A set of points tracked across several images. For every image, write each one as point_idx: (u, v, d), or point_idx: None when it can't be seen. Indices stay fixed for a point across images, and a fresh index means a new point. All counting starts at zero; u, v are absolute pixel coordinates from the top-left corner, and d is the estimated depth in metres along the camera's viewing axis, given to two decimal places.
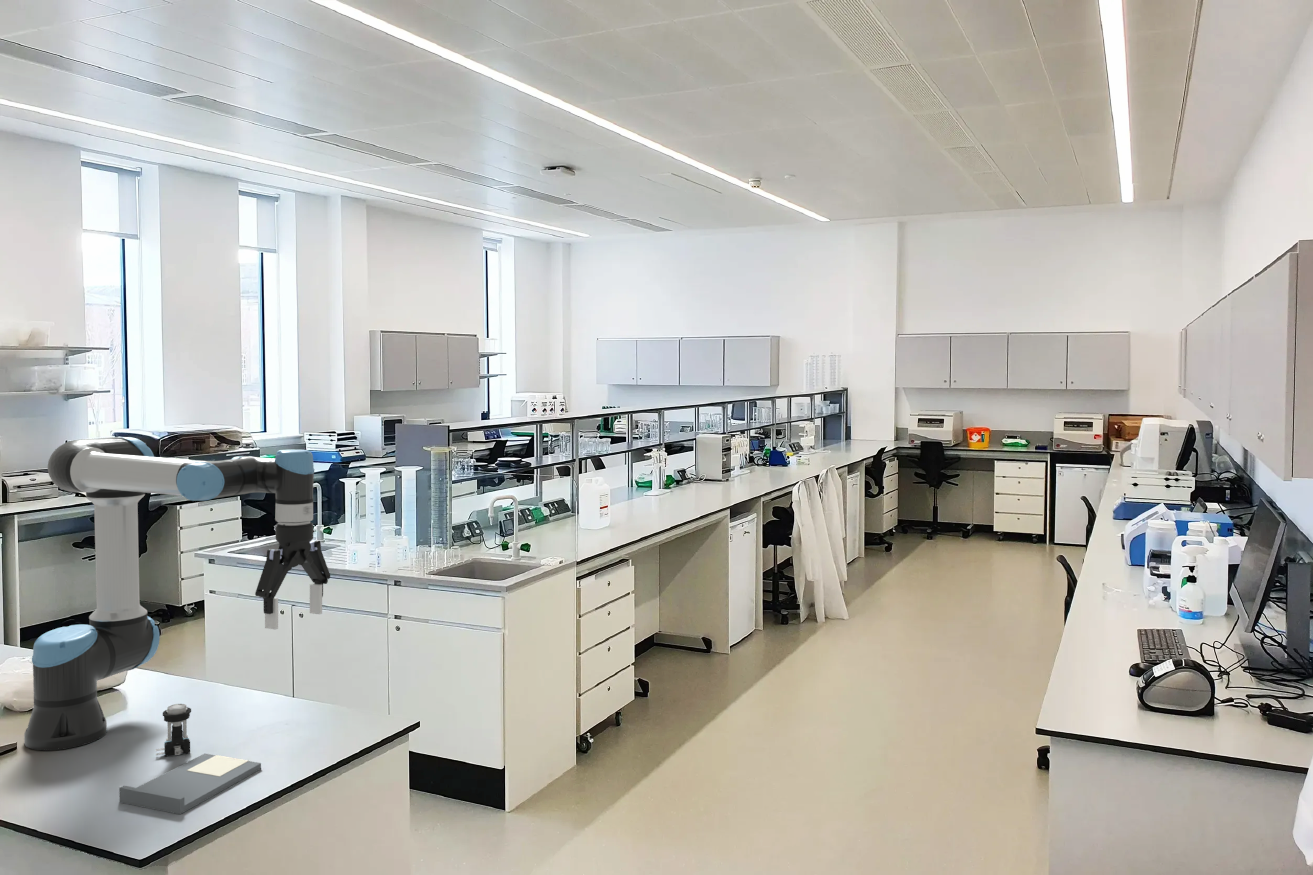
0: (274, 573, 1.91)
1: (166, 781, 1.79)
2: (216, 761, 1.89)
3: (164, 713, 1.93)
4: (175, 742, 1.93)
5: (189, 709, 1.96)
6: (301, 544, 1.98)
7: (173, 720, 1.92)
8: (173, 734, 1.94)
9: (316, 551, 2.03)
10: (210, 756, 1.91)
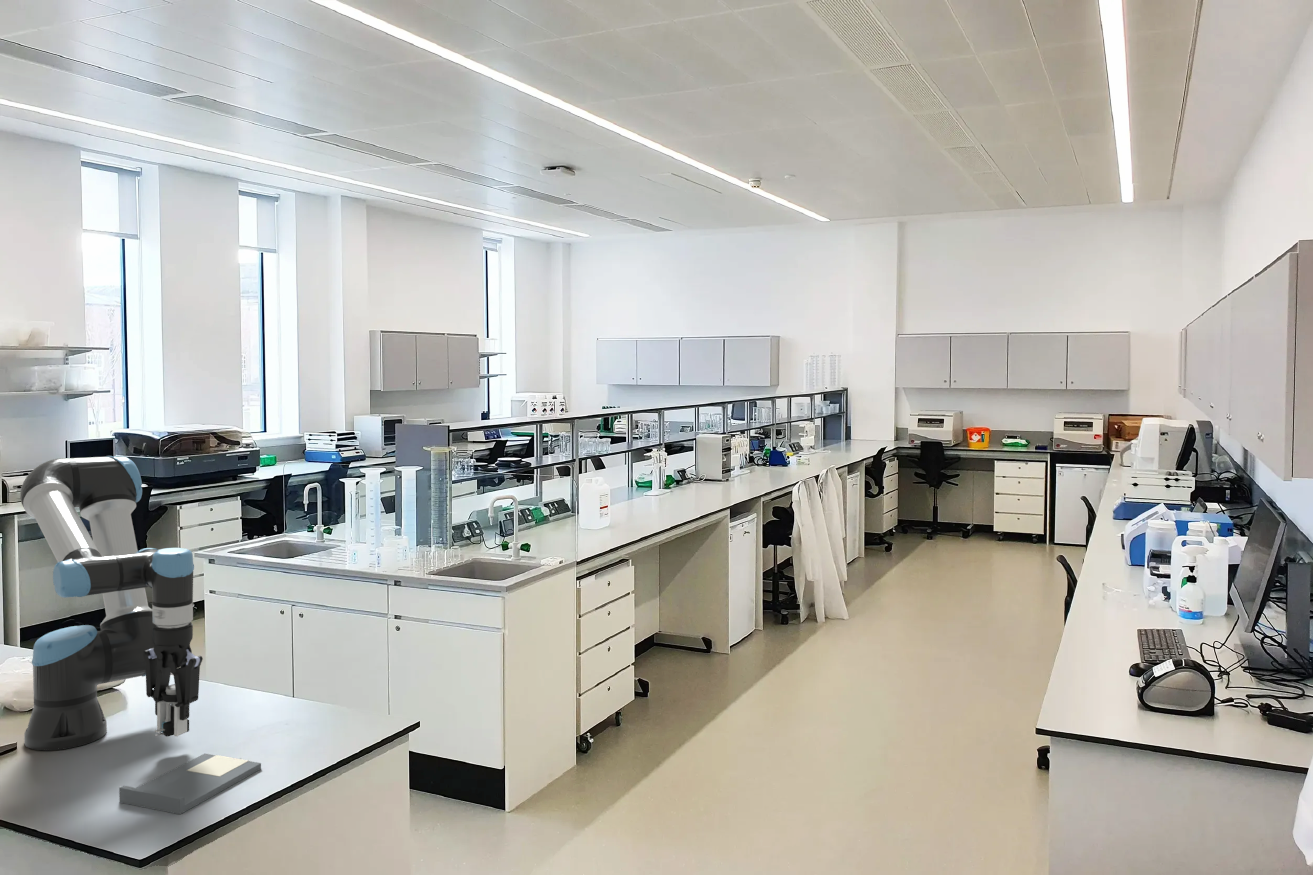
0: (148, 673, 1.94)
1: (166, 781, 1.79)
2: (216, 761, 1.89)
3: (164, 694, 1.93)
4: None
5: None
6: (171, 647, 1.92)
7: (175, 700, 1.93)
8: (173, 714, 1.94)
9: None
10: (210, 756, 1.91)
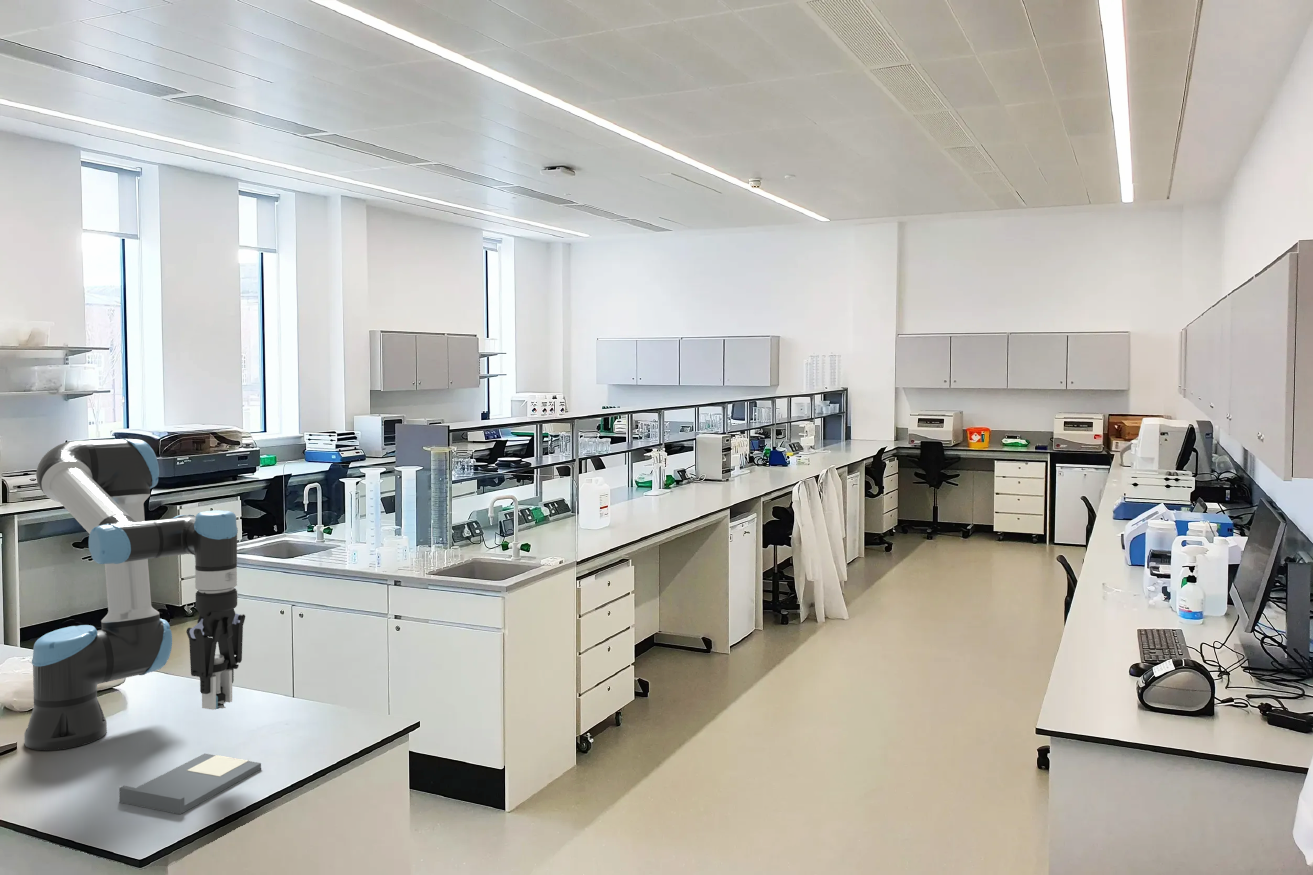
0: (203, 651, 1.80)
1: (166, 781, 1.79)
2: (216, 761, 1.89)
3: (220, 664, 1.84)
4: None
5: None
6: (224, 612, 1.85)
7: None
8: (220, 683, 1.86)
9: (237, 625, 1.89)
10: (210, 756, 1.91)
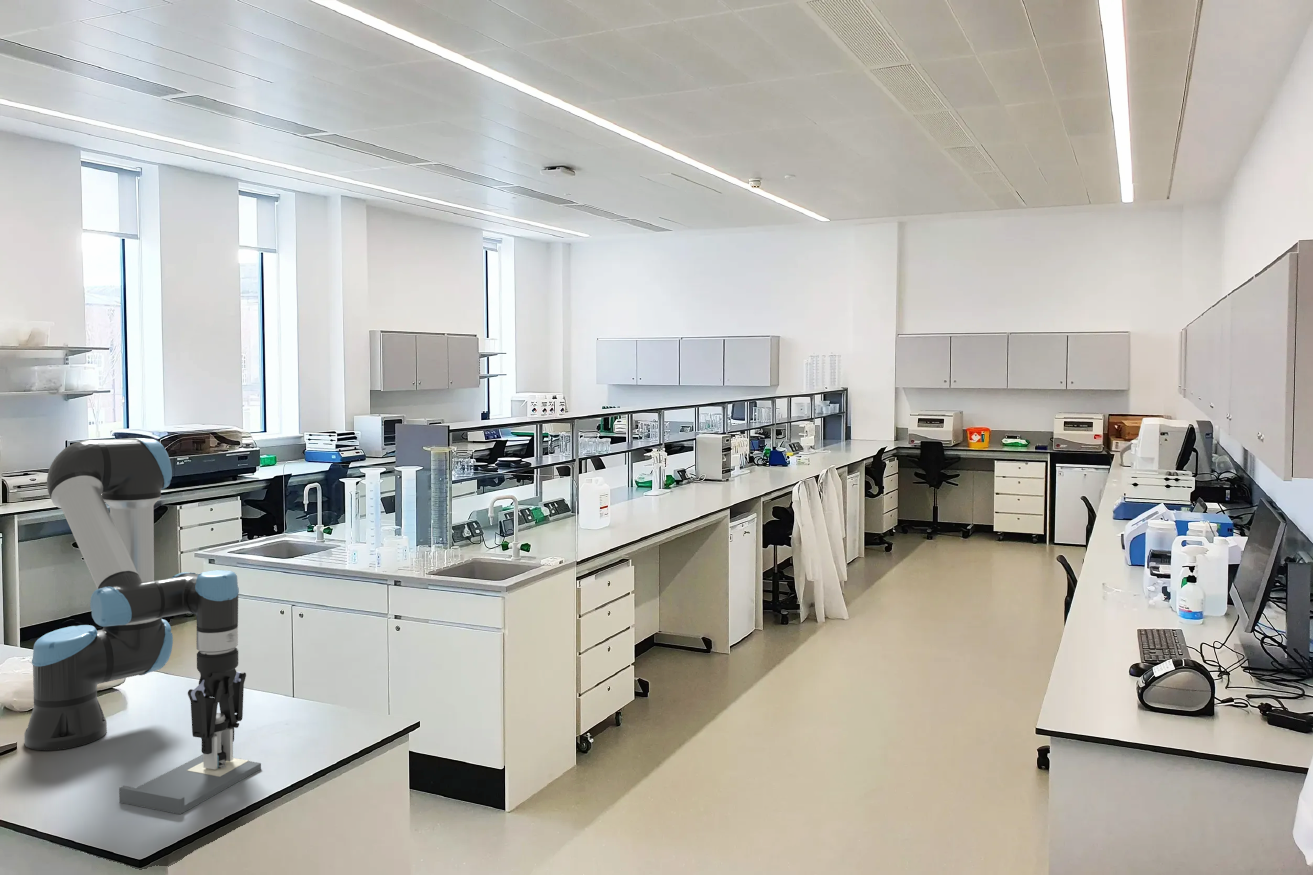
0: (204, 712, 1.81)
1: (166, 781, 1.79)
2: None
3: (221, 723, 1.85)
4: None
5: None
6: (225, 672, 1.86)
7: None
8: (221, 742, 1.87)
9: (238, 684, 1.90)
10: None
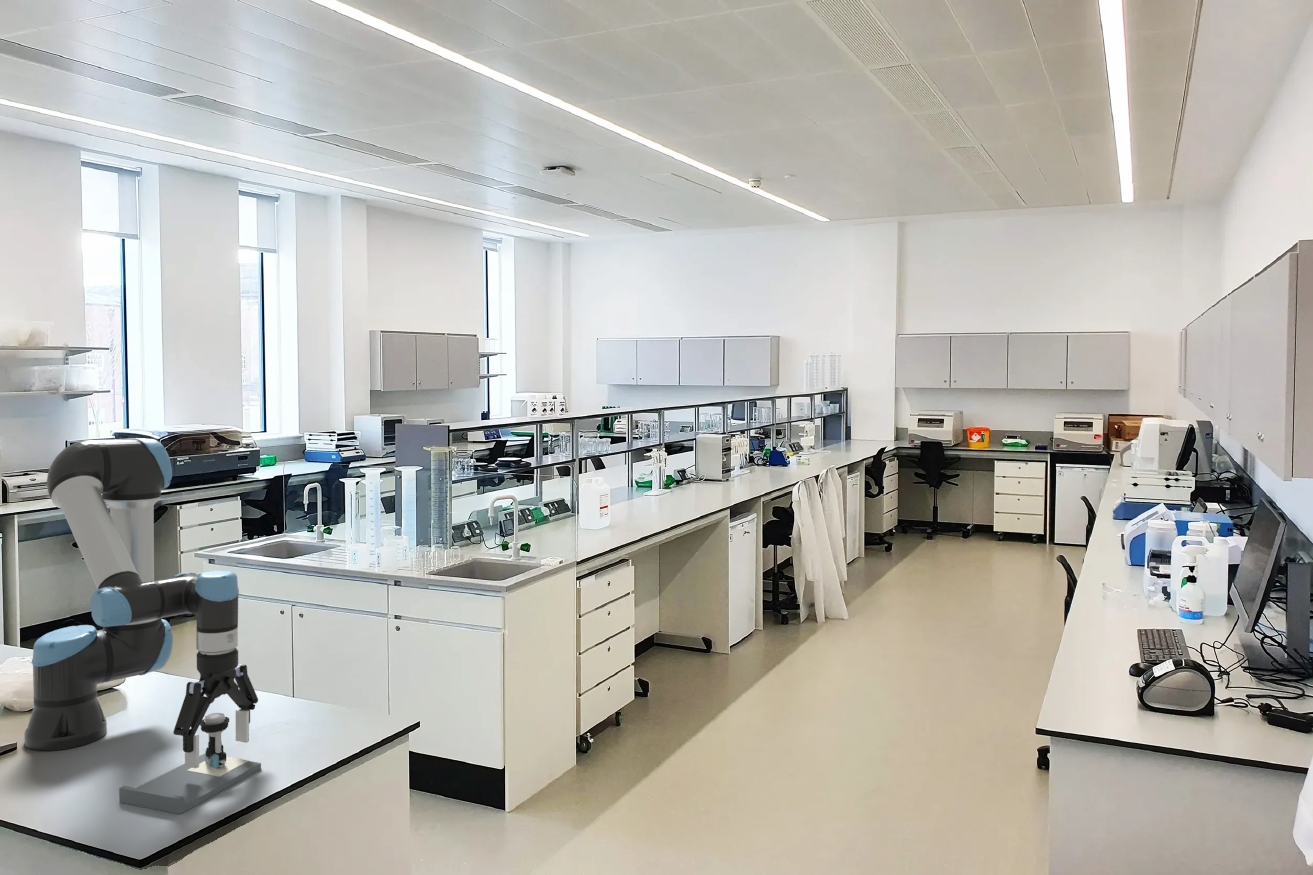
0: (194, 709, 1.78)
1: (166, 781, 1.79)
2: None
3: (221, 723, 1.85)
4: None
5: None
6: (225, 672, 1.86)
7: (227, 724, 1.87)
8: (221, 742, 1.87)
9: (242, 677, 1.91)
10: None
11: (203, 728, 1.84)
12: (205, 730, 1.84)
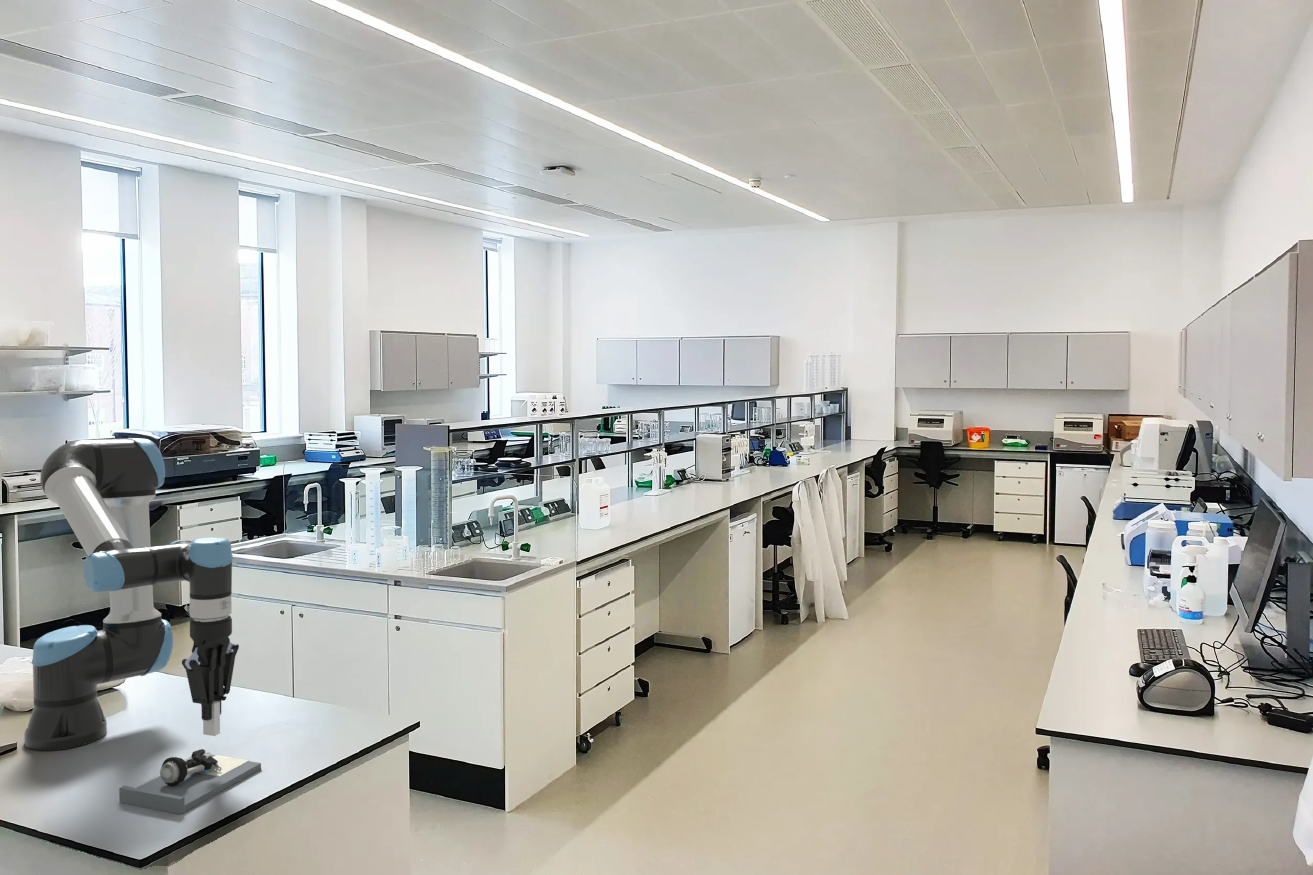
0: (201, 680, 1.80)
1: None
2: None
3: (180, 776, 1.76)
4: (201, 757, 1.82)
5: (163, 765, 1.78)
6: (218, 640, 1.84)
7: (183, 761, 1.77)
8: (195, 762, 1.81)
9: (230, 655, 1.87)
10: None
11: None
12: None
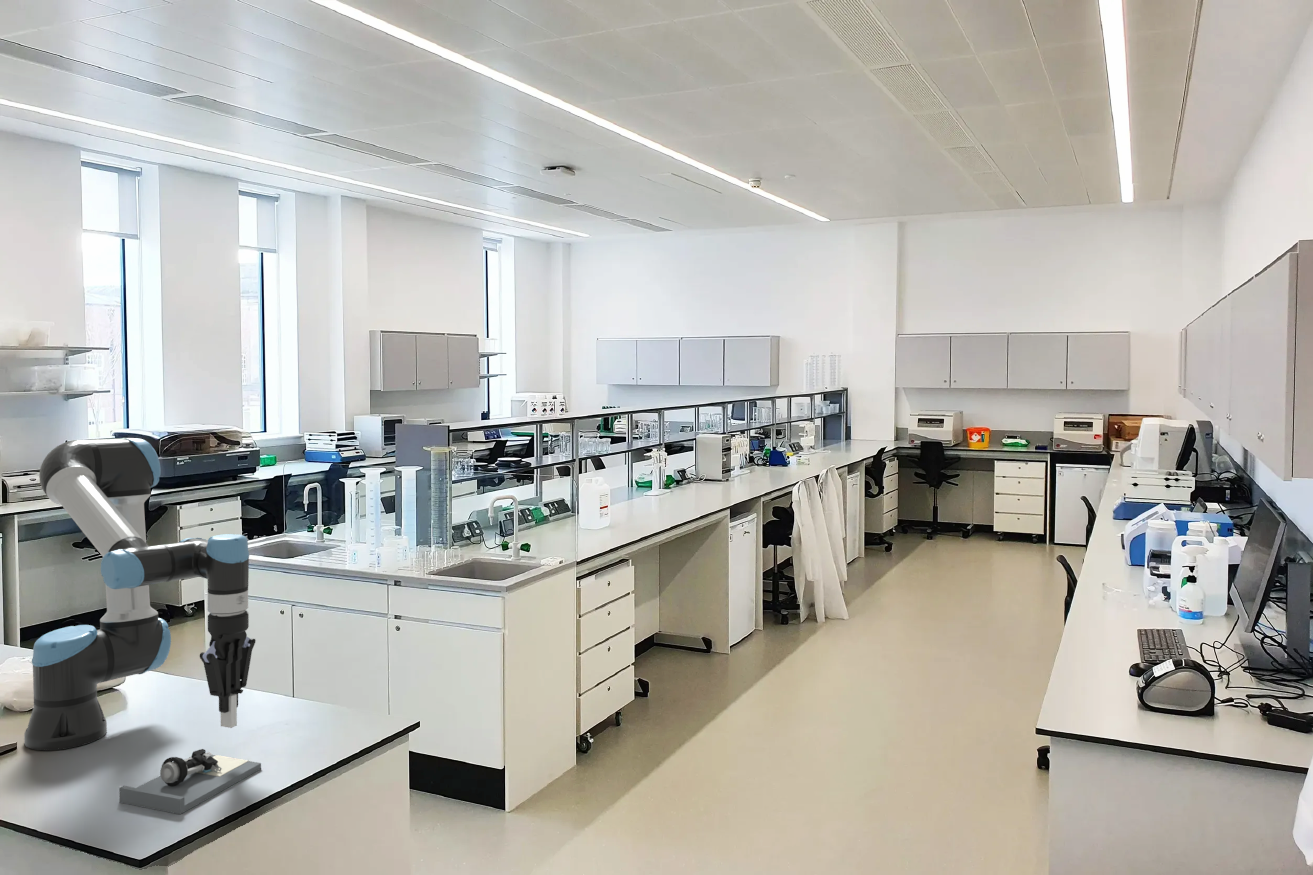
0: (218, 673, 1.84)
1: None
2: None
3: (180, 777, 1.76)
4: (201, 757, 1.82)
5: (163, 765, 1.78)
6: (235, 634, 1.88)
7: (183, 761, 1.77)
8: (195, 762, 1.81)
9: (247, 649, 1.92)
10: None
11: None
12: None
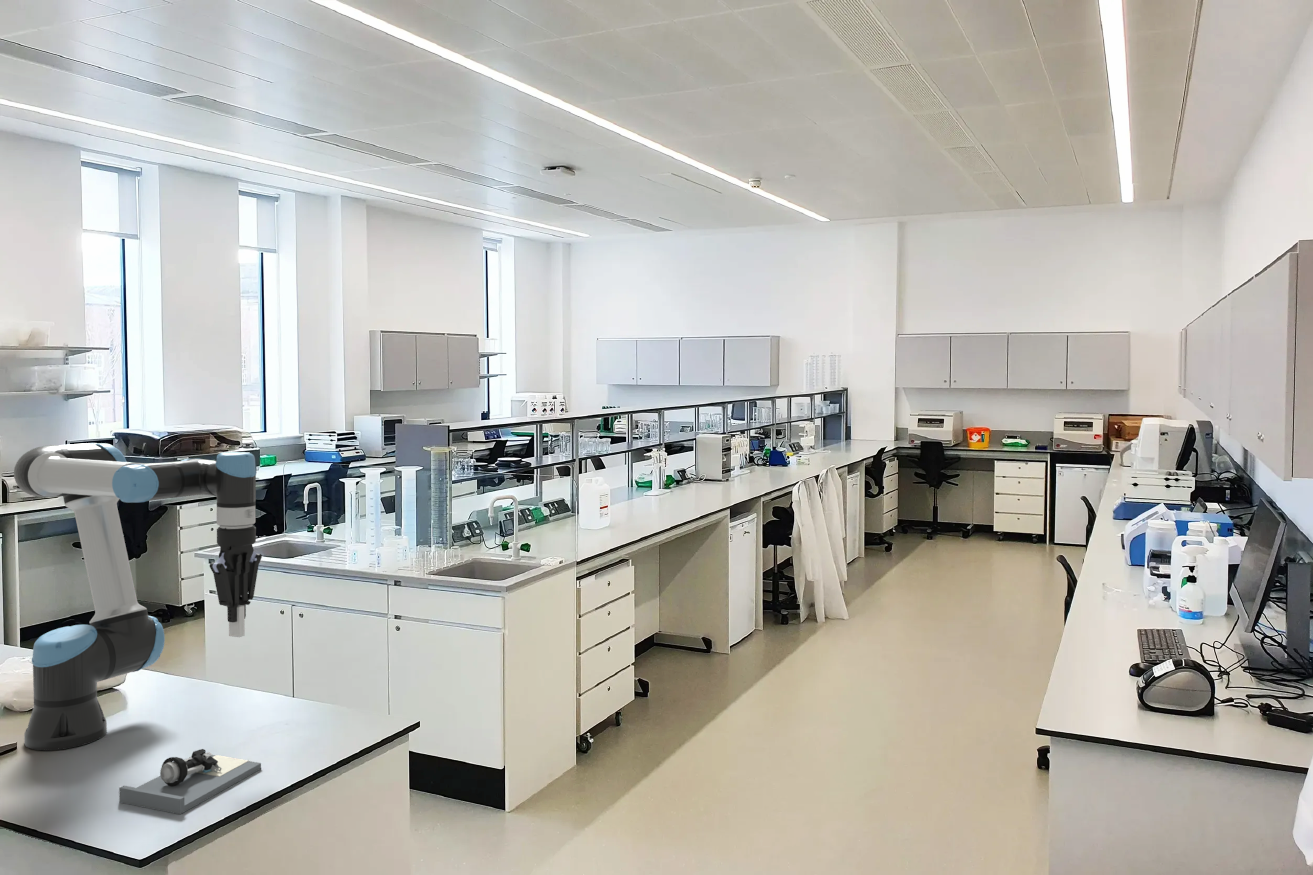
0: (227, 583, 1.92)
1: None
2: None
3: (180, 777, 1.76)
4: (201, 757, 1.82)
5: (163, 765, 1.78)
6: (243, 548, 1.96)
7: (183, 761, 1.77)
8: (195, 762, 1.81)
9: (254, 563, 2.00)
10: None
11: None
12: None
